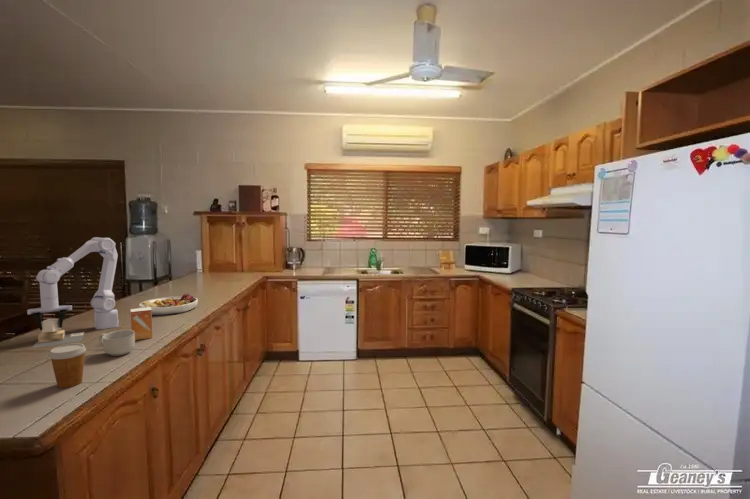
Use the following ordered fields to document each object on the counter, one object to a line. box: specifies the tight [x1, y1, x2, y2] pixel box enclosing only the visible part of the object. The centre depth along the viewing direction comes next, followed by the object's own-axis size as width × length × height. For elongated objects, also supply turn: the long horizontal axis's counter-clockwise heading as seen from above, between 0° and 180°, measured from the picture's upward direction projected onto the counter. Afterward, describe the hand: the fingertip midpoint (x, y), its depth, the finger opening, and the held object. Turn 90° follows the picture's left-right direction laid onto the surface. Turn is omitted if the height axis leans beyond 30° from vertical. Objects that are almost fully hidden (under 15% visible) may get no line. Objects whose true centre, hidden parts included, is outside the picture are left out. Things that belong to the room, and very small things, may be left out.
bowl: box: [138, 292, 199, 316], centre depth 223 cm, size 30×30×8 cm
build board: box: [32, 331, 86, 349], centre depth 165 cm, size 16×16×1 cm
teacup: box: [98, 329, 136, 357], centre depth 152 cm, size 14×11×8 cm
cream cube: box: [41, 318, 62, 332], centre depth 165 cm, size 4×4×4 cm
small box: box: [129, 307, 153, 341], centre depth 171 cm, size 8×6×13 cm
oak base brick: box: [37, 329, 66, 343], centre depth 165 cm, size 8×6×3 cm
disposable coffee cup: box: [48, 343, 87, 389], centre depth 124 cm, size 10×10×12 cm
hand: (51, 328), depth 165 cm, fingers closed on cream cube, 6 cm apart
